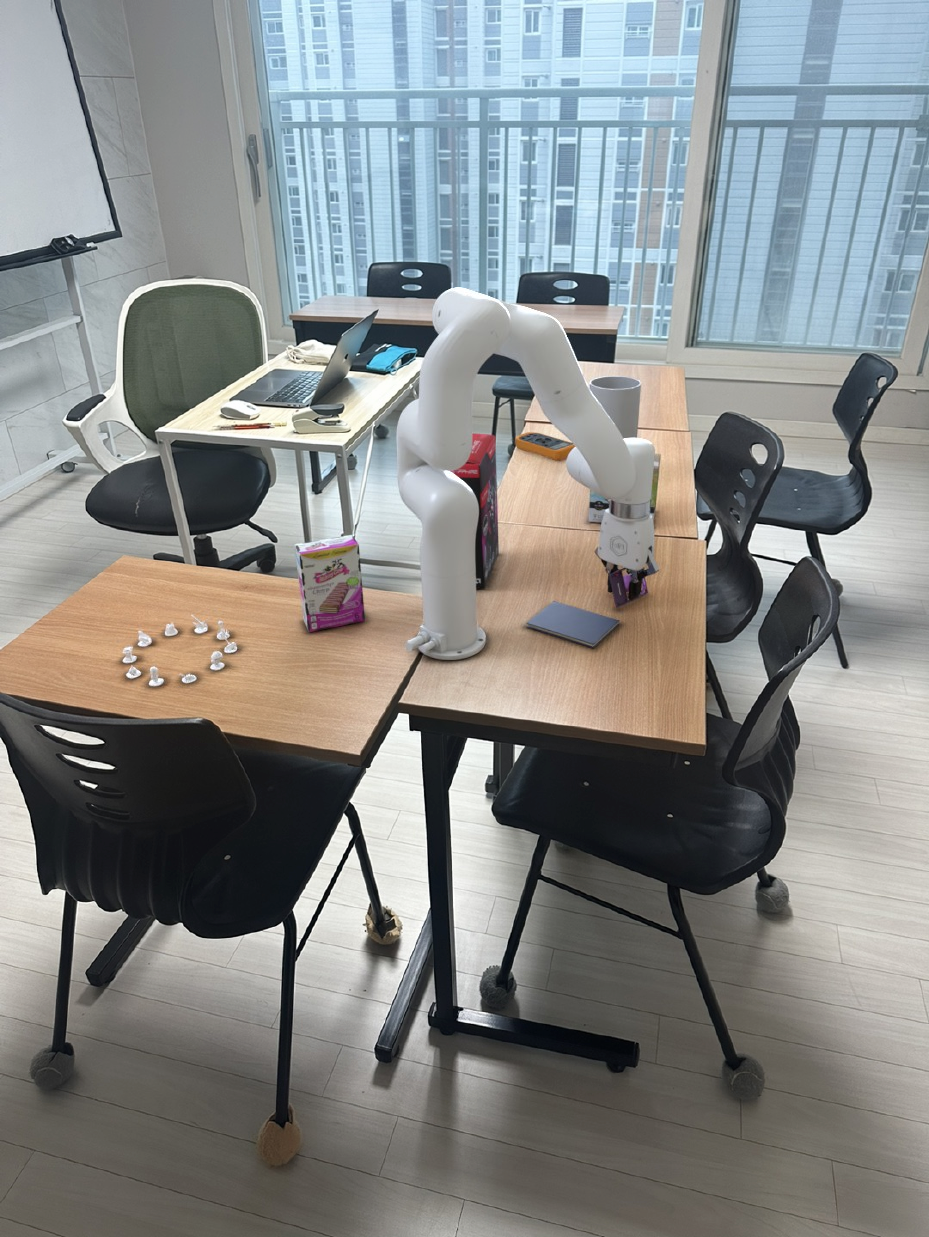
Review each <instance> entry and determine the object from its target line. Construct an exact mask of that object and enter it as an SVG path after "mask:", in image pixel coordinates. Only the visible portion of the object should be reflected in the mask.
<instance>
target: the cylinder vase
mask: <svg viewBox="0 0 929 1237" xmlns="http://www.w3.org/2000/svg"><path fill="white" fill-rule="evenodd" d="M588 387H589V389H590V391H591V392H592V394H593V395H594V396H595V398H596V399H597V400H598V402H599V403H600V404H601V406H602V407H603V409H604V410H605V412H606V413H607V415H608V416H609V417H610V419H611V420H612V421H613V423H614V424H615V426H616V427H617V429H618V430H619V432H620V433H621V435H622V437H623V439H626V438H638V434H639V433H638V432H639V420H640V406H641V405H640V404H641V391H642V382H641V381H640V379H638V378H634V377H629V376H621V375H608V376H599V377H596V378H595V377H594V378H592V379H590V381H589V385H588Z"/></svg>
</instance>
